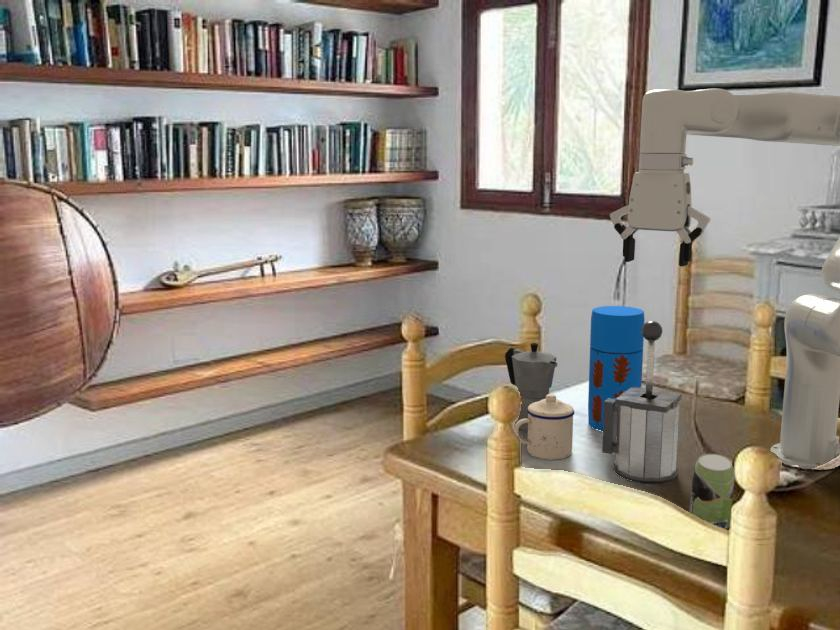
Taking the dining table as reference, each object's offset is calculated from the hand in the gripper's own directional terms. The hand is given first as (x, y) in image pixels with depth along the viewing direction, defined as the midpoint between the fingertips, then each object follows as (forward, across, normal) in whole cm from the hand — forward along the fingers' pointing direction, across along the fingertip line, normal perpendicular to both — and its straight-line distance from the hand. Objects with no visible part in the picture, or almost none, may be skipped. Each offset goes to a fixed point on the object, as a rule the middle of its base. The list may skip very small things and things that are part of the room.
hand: (655, 263), depth 148 cm
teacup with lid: (+39, +20, +2) cm, 44 cm away
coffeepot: (+39, +30, -13) cm, 51 cm away
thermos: (+39, +14, -21) cm, 46 cm away
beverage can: (+39, -17, +18) cm, 46 cm away
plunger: (+28, 0, 0) cm, 28 cm away
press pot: (+39, +1, 0) cm, 39 cm away
